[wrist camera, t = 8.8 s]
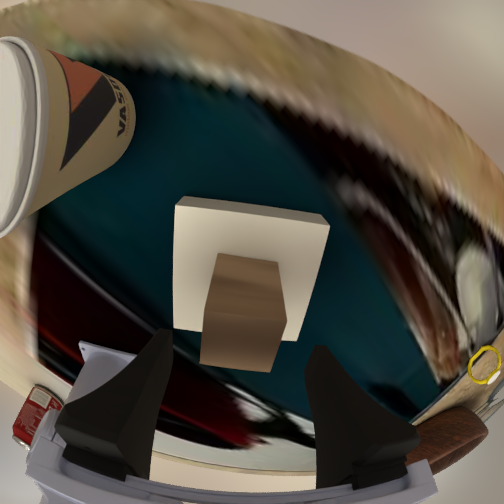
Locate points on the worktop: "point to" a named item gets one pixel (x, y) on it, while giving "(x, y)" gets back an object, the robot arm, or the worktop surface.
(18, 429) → the soda can
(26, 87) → the coffee cup
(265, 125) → the worktop surface
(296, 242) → the base brick
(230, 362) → the walnut brick
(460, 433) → the wooden bowl
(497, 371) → the watch
